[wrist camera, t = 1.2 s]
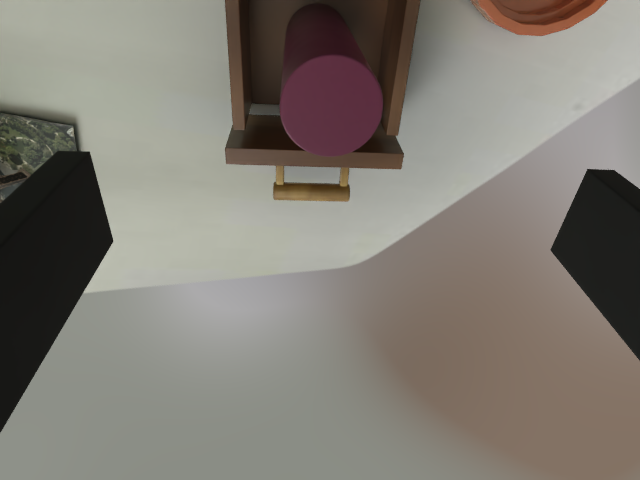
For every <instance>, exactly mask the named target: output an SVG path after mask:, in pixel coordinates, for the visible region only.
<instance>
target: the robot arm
mask: <svg viewBox="0 0 640 480" xmlns="http://www.w3.org/2000/svg"><path fill="white" fill-rule="evenodd" d="M112 243H113V238H112V234H111V230H110V227H109V223H108V219H107V215H106V212H105V208H104V204H103V200H102V196H101V193H100V189H99V185H98V181H97V178H96V174H95V170H94V166H93V163H92V159H91V155H90V152H83V151H57V152H56V153H55V154H54V155H52V156H51V157H50V158H49V159H48V160H47V161H46V162H45V163H44V164H43V165H42V166H40V167H39V168H38V169H37V170H36V171H35V172H34V173H33V174H32V175H31V176H30V177H28V178H27V179H26V180H25V181H24V182H23V183H22V184H21V185H20V186H19V187H17V188H16V189H15V190H14V191H13V192H12V193H11V194H10V195H9V196H8V197H7V198H5V199H4V200H3V201H2V202H1V203H0V432H1V431H2V429H3V427H4V425H5V424H6V422H7V420H8V419H9V417H10V415H11V413H12V412H13V410H14V409H15V407H16V405H17V404H18V402H19V400H20V399H21V397H22V395H23V393H24V392H25V390H26V388H27V387H28V385H29V383H30V382H31V380H32V378H33V377H34V375H35V373H36V371H37V370H38V368H39V366H40V365H41V363H42V361H43V359H44V358H45V356H46V355H47V353H48V351H49V349H50V348H51V346H52V344H53V343H54V341H55V339H56V337H57V336H58V334H59V333H60V331H61V329H62V327H63V326H64V324H65V322H66V320H67V319H68V317H69V316H70V314H71V312H72V310H73V309H74V307H75V305H76V304H77V302H78V300H79V299H80V297H81V295H82V294H83V292H84V290H85V288H86V287H87V285H88V283H89V282H90V280H91V278H92V277H93V275H94V273H95V272H96V270H97V268H98V266H99V265H100V263H101V261H102V260H103V258H104V256H105V255H106V253H107V251H108V250H109V248H110V246H111V244H112ZM551 251H552V253H553V254H554V255H555V256H556V258H557V259H558V260H559V261H560V263H561V264H562V265H563V266H564V267H565V269H566V270H567V271H568V272H569V274H570V275H571V276H572V277H573V279H574V280H575V281H576V282H577V284H578V285H579V286H580V287H581V289H582V290H583V291H584V292H585V293H586V295H587V296H588V297H589V298H590V300H591V301H592V302H593V303H594V305H595V306H596V307H597V308H598V309H599V311H600V312H601V313H602V314H603V316H604V317H605V318H606V319H607V321H608V322H609V323H610V324H611V326H612V327H613V328H614V329H615V330H616V332H617V333H618V334H619V335H620V337H621V338H622V339H623V340H624V342H625V343H626V344H627V345H628V347H629V348H630V349H631V350H632V352H633V353H634V354H635V355H636V356H637V358H638V359H639V360H640V189H639V188H638V187H636V186H635V185H633V184H632V183H631V182H629V181H628V180H627V179H625V178H624V177H623V176H621V175H620V174H618V173H617V172H616V171H615V170H596V169H587V171H586V174H585V176H584V178H583V180H582V183H581V184H580V187H579V189H578V191H577V193H576V195H575V198H574V200H573V202H572V204H571V207H570V209H569V211H568V213H567V215H566V217H565V219H564V222H563V224H562V226H561V228H560V230H559V233H558V235H557V237H556V239H555V241H554V244H553V246H552V248H551Z"/></svg>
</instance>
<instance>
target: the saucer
mask: <svg viewBox="0 0 640 480" xmlns="http://www.w3.org/2000/svg"><path fill="white" fill-rule="evenodd" d="M470 1H471V2H472V4H473V5H474V6H475V7H476V8H477V10H478V11H479V12H480V13H481V14H482V15H483V16H484V17H485V19H486V20H488V21H489V22H492V23H494V24H496V25H498V26H500V27H502V28H504V29H506V30H509V31H511V32H513V33H515V34H518V35H534V36H544V35H547V34H551V33H554V32H558V31H561V30H565V29H568V28H570V27H572V26H574V25H575V24H577V23H579V22H580V21H582V20H584V19H585V18H587V17H589V16H590V15H592V14H593V13H595V12H596V11H597V10H598V9H599V8H600V7H601V6H602V5H603V4H604V3H605V2H606V1H607V0H470Z"/></svg>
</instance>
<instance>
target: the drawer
mask: <svg viewBox="0 0 640 480" xmlns="http://www.w3.org/2000/svg"><path fill="white" fill-rule="evenodd" d="M314 3H320V4H325V5H328V6H330V7H332V8H334V9H335V10H336V11H337V12H338V13H339V14H340V15H341V16H342V18H343V19H344V21H345V23H346V25H347V26H348V28H349V30H350V32H351V34H352V35H353V37H354V39H355V41H356V43H357V44H358V46H359V48H360V50H361V51H362V53H363V55H364V57H365V59H366V60H367V62H368V64H369V66H370V68H371V69H372V71H373V73H374V75H375V76H376V78H377V80H378V82H379V84H380V87H381V90H382V95H383V112H382V117H381V120H380V123H379V125H378V127H377V129H376V131H375V132H374V134H373V135H372V136H371V138H370V139H369V140H368V141H367V142H366V143H365V144H364V145H362V146H361V147H360V148H358V149H356V150H355V151H353V152H350V153H348V154H345V155H341V156H335V157H325V156H319V155H315V154H312V153H309V152H307V151H305V150H303V149H302V148H300V147H299V146H298V145H297V144H296V143H294V142H293V140H292V139H291V138H290V137H289V135H288V134H287V132H286V131H285V129H284V127H283V124H282V121H281V117H280V116H278V115H251V114H249V113H250V109H251V105H252V103H255V104H280V93H281V82H282V71H283V59H284V48H285V37H286V30H287V26H288V23H289V21H290V19H291V18H292V16H293V15H294V14H295V13H296V12H297V11H298V10H299V9H300V8H302V7H304V6H306V5H309V4H314ZM419 6H420V0H225V8H226V24H227V40H228V55H229V71H230V87H231V102H232V118H233V125H232V128H231V131H230V135H229V138H228V141H227V144H226V147H225V154H226V164H240V165H274V166H276V182H274V187H273V198H274V200H304V201H346V202H347V201H349V197H350V186H349V184H348V175H349V168H376V169H401V168H402V162H403V157H404V153H403V151H402V149H401V147H400V145H399V143H398V141H397V139H396V137H395V136H397V135H398V132H399V126H400V120H401V114H402V108H403V102H404V96H405V90H406V84H407V78H408V72H409V66H410V60H411V54H412V48H413V42H414V36H415V30H416V24H417V18H418V12H419ZM284 166H308V167H341V170H340V181H339V183H340V184H329V183H291V182H284Z"/></svg>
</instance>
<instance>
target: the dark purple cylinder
mask: <svg viewBox="0 0 640 480" xmlns="http://www.w3.org/2000/svg"><path fill="white" fill-rule="evenodd" d="M279 108H280V117H281V121H282V124H283V127H284V129H285V131H286V132H287V134H288V135H289V137H290V138H291V139H292V140H293V142H294V143H296V144H297V145H298V146H299V147H300V148H302V149H303V150H305V151H307V152H309V153H312V154H315V155H319V156H325V157H335V156H341V155H345V154H348V153H350V152H353V151H355V150H356V149H358V148H360V147H361V146H362V145H364V144H365V143H366V142H367V141H368V140H369V139H370V138H371V136H372V135H373V134H374V132H375V131H376V129H377V127H378V125H379V123H380V120H381V117H382V112H383V95H382V90H381V87H380V84H379V82H378V80H377V78H376V76H375V75H374V73H373V71H372V69H371V68H370V66H369V64H368V62H367V60H366V59H365V57H364V55H363V53H362V51H361V50H360V48H359V46H358V44H357V43H356V41H355V39H354V37H353V35H352V34H351V32H350V30H349V28H348V26H347V25H346V23H345V21H344V19H343V18H342V16H341V15H340V14H339V13H338V12H337V11H336V10H335V9H334V8H332V7H330V6H328V5H325V4H320V3H314V4H309V5H306V6H304V7H302V8H300V9H299V10H298V11H297V12H296V13H295V14H294V15H293V16H292V18H291V19H290V21H289V23H288V26H287V30H286V37H285V48H284V59H283V71H282V82H281V93H280V105H279Z"/></svg>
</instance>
